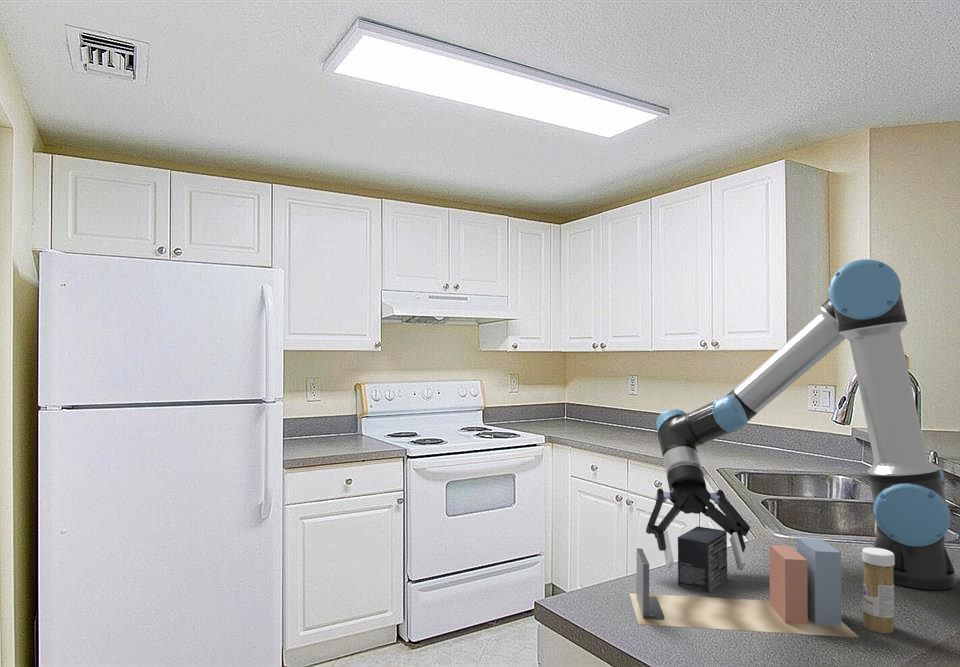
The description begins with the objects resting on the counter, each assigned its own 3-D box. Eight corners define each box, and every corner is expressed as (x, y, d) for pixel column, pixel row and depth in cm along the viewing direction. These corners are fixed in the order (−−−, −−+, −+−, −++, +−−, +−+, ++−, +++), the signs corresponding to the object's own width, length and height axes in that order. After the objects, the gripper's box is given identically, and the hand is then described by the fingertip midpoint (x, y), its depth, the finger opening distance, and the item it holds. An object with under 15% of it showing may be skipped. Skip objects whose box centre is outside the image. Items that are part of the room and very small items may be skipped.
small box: (696, 576, 133) (696, 524, 133) (728, 583, 129) (728, 530, 129) (675, 590, 125) (675, 535, 125) (709, 598, 121) (709, 541, 121)
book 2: (821, 607, 114) (821, 538, 115) (841, 626, 106) (840, 552, 107) (797, 606, 115) (797, 537, 115) (815, 624, 107) (815, 551, 107)
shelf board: (822, 609, 116) (822, 603, 116) (859, 643, 102) (859, 637, 102) (629, 598, 120) (629, 593, 120) (638, 630, 106) (638, 624, 106)
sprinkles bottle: (856, 627, 109) (856, 546, 109) (884, 627, 109) (883, 546, 109) (873, 639, 104) (872, 554, 104) (901, 639, 104) (900, 555, 104)
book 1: (790, 605, 115) (790, 545, 115) (807, 624, 107) (807, 560, 107) (769, 604, 115) (769, 545, 116) (785, 623, 108) (785, 559, 108)
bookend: (656, 599, 117) (656, 549, 118) (664, 619, 108) (664, 565, 109) (636, 598, 118) (636, 548, 118) (642, 618, 109) (643, 564, 109)
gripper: (738, 484, 143) (766, 576, 127) (623, 482, 143) (637, 573, 128) (747, 463, 137) (777, 557, 122) (628, 461, 138) (643, 554, 123)
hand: (706, 566), depth 125 cm, fingers open, 13 cm apart
